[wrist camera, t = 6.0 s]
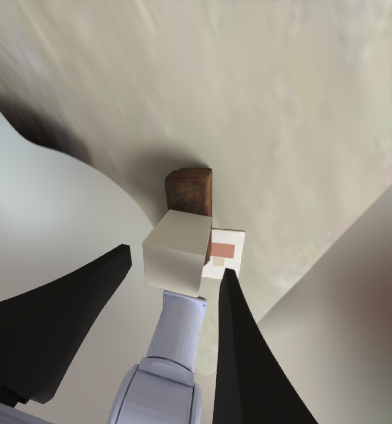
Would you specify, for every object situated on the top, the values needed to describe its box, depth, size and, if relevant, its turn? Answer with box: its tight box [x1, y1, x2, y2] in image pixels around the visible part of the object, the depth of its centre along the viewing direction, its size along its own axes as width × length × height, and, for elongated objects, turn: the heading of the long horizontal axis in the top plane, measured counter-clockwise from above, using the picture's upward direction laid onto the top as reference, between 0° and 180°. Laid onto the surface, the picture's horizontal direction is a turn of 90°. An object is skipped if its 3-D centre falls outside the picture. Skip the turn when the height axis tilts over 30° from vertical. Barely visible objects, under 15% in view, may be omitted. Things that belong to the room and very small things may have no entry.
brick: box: [165, 168, 212, 266], centre depth 17 cm, size 11×4×5 cm, turn 3°
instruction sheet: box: [202, 229, 245, 279], centre depth 22 cm, size 9×6×1 cm, turn 1°
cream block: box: [143, 209, 212, 298], centre depth 12 cm, size 4×4×5 cm
